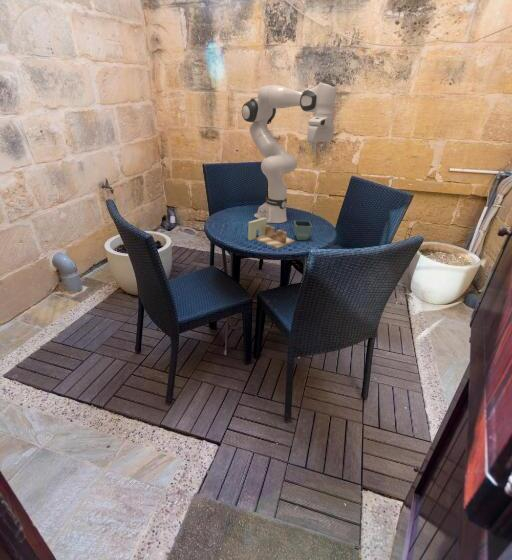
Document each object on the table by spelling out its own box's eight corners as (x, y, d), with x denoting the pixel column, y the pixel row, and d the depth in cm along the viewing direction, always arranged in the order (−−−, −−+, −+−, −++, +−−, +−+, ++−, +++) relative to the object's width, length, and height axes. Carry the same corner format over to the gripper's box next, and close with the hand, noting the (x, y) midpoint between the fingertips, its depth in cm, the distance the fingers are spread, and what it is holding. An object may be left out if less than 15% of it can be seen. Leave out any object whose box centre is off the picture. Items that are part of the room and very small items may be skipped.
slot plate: (247, 239, 174) (248, 221, 169) (263, 234, 181) (264, 217, 176) (250, 240, 173) (250, 222, 168) (265, 235, 180) (266, 218, 175)
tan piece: (255, 239, 174) (256, 227, 170) (273, 233, 182) (274, 222, 179) (276, 249, 164) (277, 236, 161) (294, 242, 173) (295, 230, 169)
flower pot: (307, 235, 181) (309, 220, 177) (310, 241, 174) (312, 226, 169) (292, 235, 181) (293, 220, 177) (294, 241, 173) (296, 226, 169)
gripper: (327, 119, 163) (323, 148, 170) (306, 120, 150) (303, 151, 157) (338, 120, 160) (334, 150, 167) (318, 121, 146) (314, 153, 153)
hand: (319, 151), depth 162 cm, fingers open, 8 cm apart
